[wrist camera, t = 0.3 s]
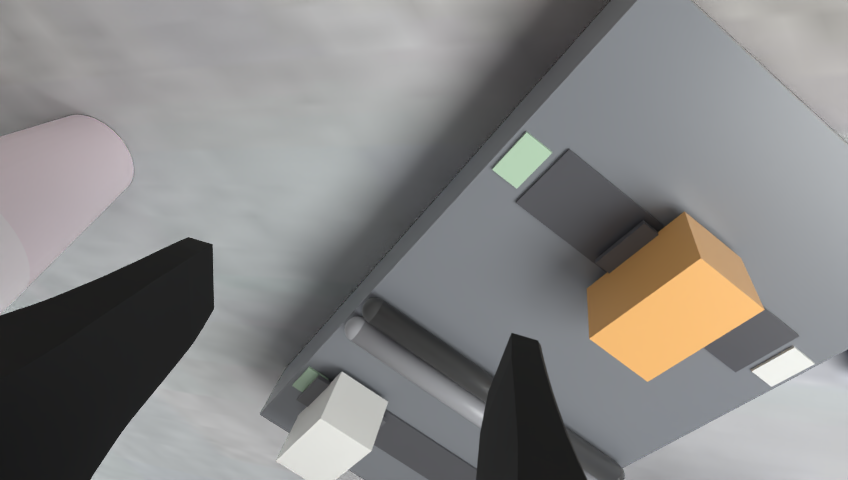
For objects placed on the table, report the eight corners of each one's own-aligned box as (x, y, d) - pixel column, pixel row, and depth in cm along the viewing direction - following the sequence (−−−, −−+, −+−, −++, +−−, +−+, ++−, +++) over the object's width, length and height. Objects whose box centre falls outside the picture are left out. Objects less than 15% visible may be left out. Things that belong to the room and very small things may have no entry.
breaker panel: (933, 221, 19) (1012, 295, 15) (480, 494, 32) (470, 566, 28) (647, -41, 16) (667, -20, 13) (285, 369, 29) (249, 431, 26)
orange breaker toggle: (754, 268, 17) (780, 322, 15) (651, 336, 20) (661, 392, 17) (669, 198, 17) (684, 245, 15) (572, 277, 19) (574, 327, 17)
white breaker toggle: (399, 408, 24) (384, 458, 22) (352, 447, 26) (334, 497, 24) (330, 362, 24) (307, 410, 22) (288, 406, 26) (263, 453, 24)
